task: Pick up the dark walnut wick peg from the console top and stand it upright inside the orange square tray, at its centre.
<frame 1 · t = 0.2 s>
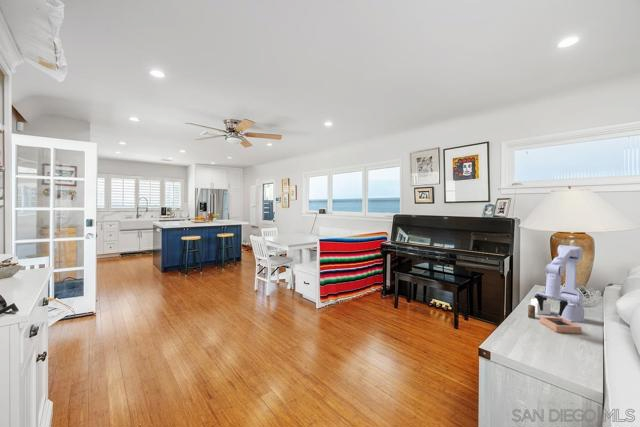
hand: (550, 312, 139), 11 cm above the table, tool pointing down, fingers open, 7 cm apart
orange square tray: (559, 327, 145), on the table
wick peg: (531, 317, 159), on the table
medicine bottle: (540, 312, 167), on the table
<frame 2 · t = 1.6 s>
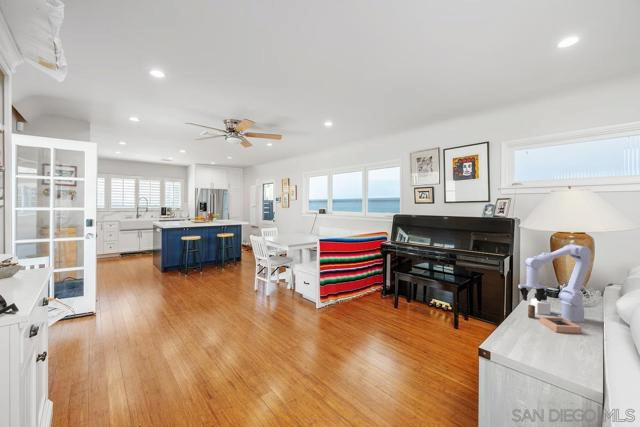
hand: (531, 300, 158), 10 cm above the table, tool pointing down, fingers open, 7 cm apart
nothing on the table moved.
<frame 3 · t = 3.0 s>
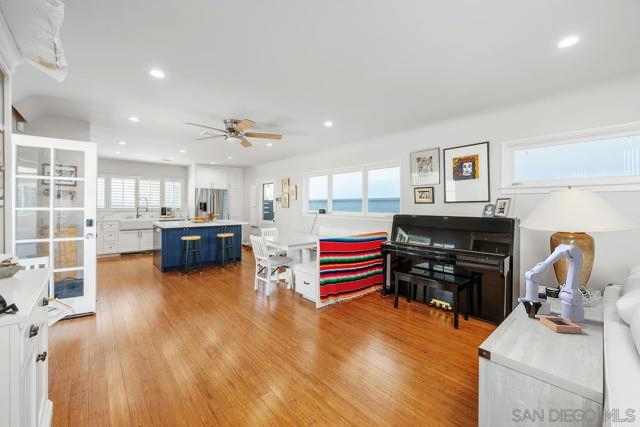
hand: (531, 314, 159), 2 cm above the table, tool pointing down, fingers closed on wick peg, 3 cm apart
wick peg: (531, 317, 159), on the table, touching gripper
everything else where it was.
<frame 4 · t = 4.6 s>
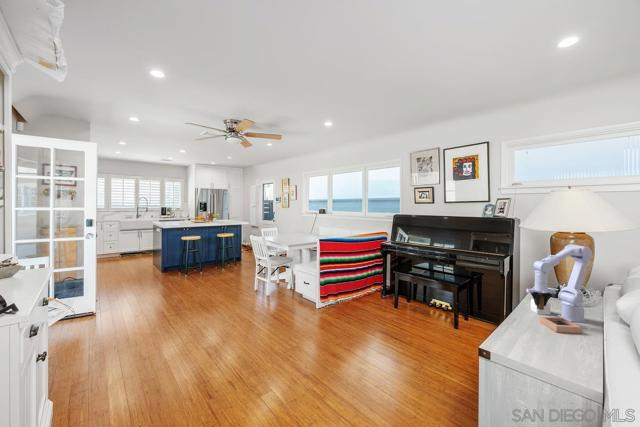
hand: (540, 305, 154), 9 cm above the table, tool pointing down, fingers closed on wick peg, 3 cm apart
wick peg: (540, 308, 154), point 7 cm above the table, touching gripper
everything else where it was.
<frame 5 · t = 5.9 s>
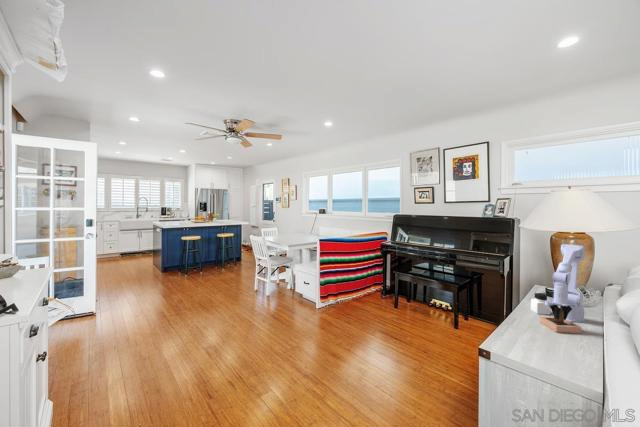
hand: (559, 318, 145), 5 cm above the table, tool pointing down, fingers closed on wick peg, 3 cm apart
wick peg: (559, 322, 145), point 3 cm above the table, touching gripper
everything else where it was.
when the fingers open (4 cm above the table, at t = 6.4 s): wick peg drops 1 cm, resting on orange square tray.
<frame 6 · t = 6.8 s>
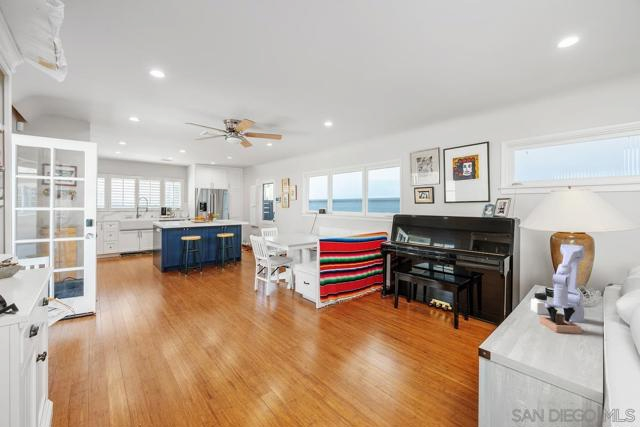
hand: (559, 320, 145), 4 cm above the table, tool pointing down, fingers open, 6 cm apart
wick peg: (559, 327, 145), point 1 cm above the table, touching orange square tray
everything else where it was.
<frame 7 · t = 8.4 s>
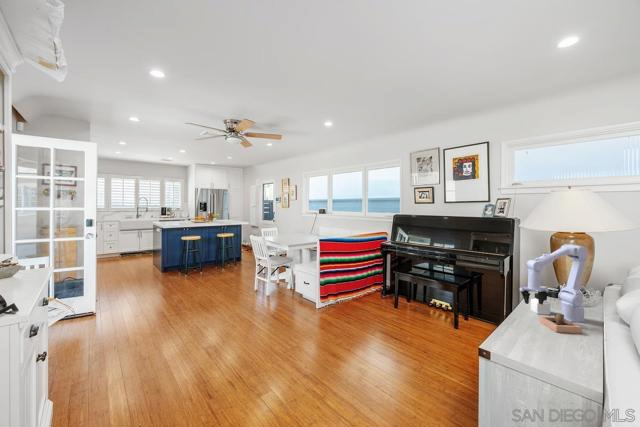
hand: (533, 303, 156), 9 cm above the table, tool pointing down, fingers open, 7 cm apart
nothing on the table moved.
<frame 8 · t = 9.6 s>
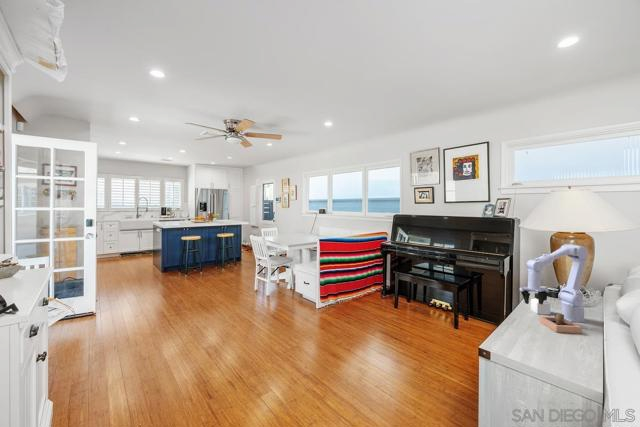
hand: (533, 303, 156), 9 cm above the table, tool pointing down, fingers open, 7 cm apart
nothing on the table moved.
at the end: wick peg 0.0 cm off-centre on the orange square tray, point 0.5 cm above the orange square tray's base; wick peg tilted 0°; the gripper is holding nothing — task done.
